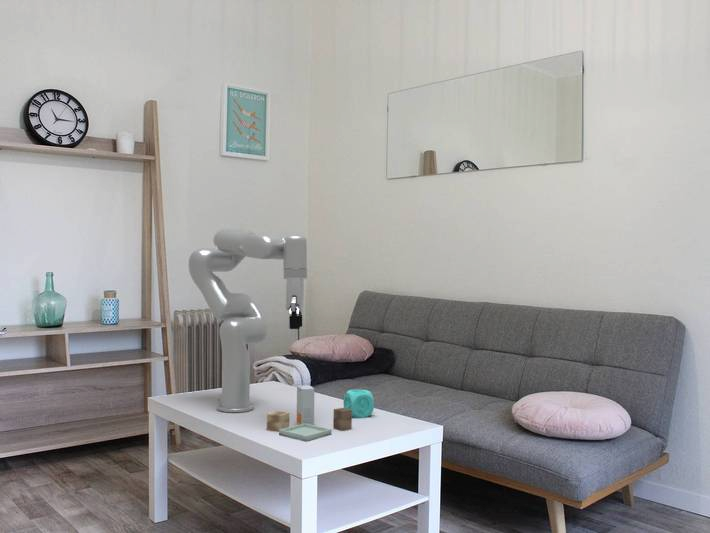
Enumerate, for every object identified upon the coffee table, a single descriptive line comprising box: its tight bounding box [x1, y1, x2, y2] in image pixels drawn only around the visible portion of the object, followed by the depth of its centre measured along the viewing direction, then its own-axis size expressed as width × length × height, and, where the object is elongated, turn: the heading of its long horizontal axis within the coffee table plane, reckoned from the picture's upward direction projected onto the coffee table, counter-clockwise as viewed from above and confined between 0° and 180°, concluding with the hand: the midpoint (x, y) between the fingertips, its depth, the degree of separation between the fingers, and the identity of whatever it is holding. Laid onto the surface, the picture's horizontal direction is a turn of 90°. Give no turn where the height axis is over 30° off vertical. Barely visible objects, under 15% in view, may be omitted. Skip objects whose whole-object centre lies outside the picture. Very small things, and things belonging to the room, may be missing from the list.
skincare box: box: [296, 384, 315, 425], centre depth 212 cm, size 6×4×12 cm
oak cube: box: [266, 410, 290, 433], centre depth 206 cm, size 5×5×5 cm
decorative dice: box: [343, 389, 375, 419], centre depth 227 cm, size 8×8×8 cm
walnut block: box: [332, 407, 353, 432], centre depth 208 cm, size 4×4×6 cm
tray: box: [278, 423, 333, 442], centre depth 200 cm, size 11×11×2 cm
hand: (296, 327), depth 215 cm, fingers open, 9 cm apart
